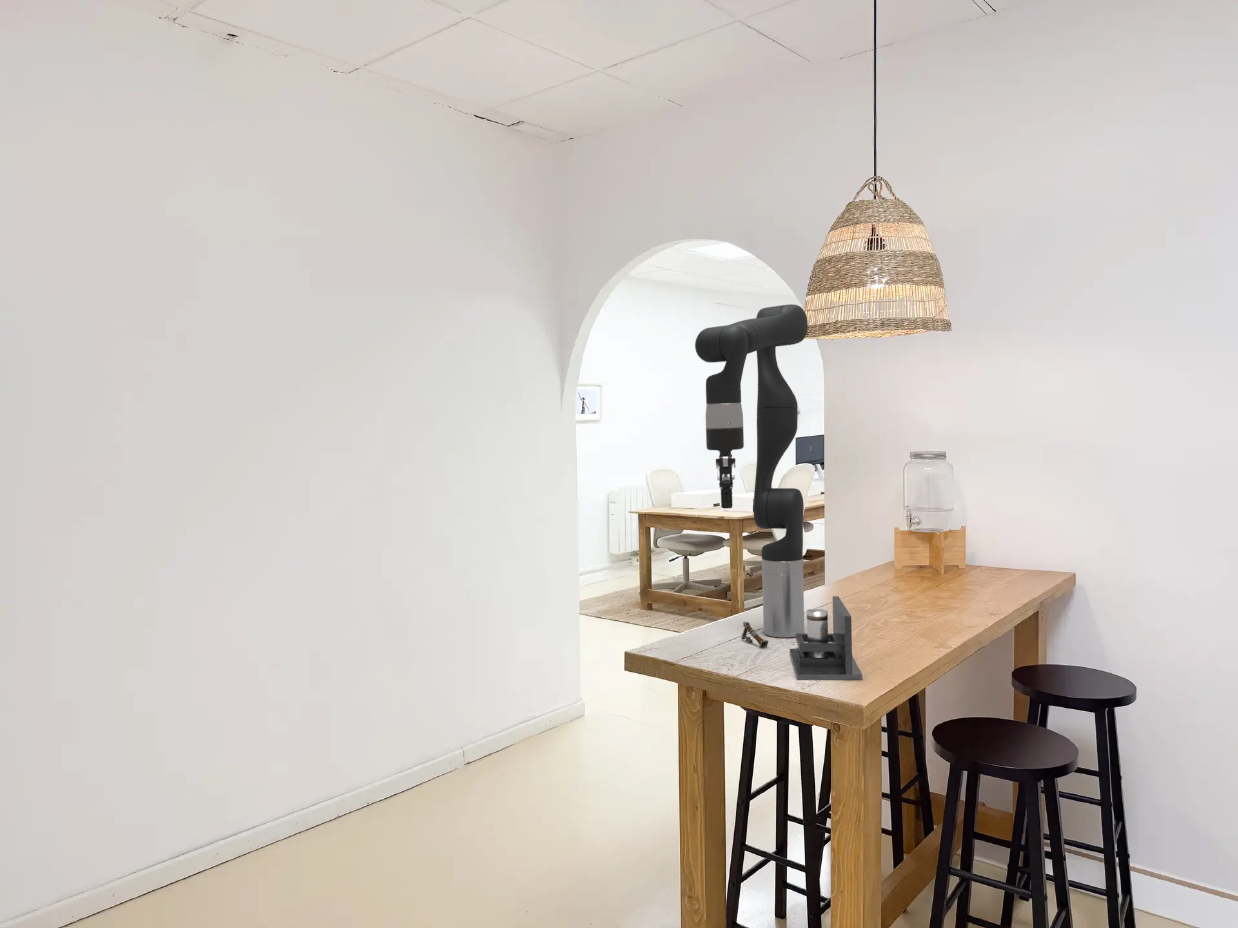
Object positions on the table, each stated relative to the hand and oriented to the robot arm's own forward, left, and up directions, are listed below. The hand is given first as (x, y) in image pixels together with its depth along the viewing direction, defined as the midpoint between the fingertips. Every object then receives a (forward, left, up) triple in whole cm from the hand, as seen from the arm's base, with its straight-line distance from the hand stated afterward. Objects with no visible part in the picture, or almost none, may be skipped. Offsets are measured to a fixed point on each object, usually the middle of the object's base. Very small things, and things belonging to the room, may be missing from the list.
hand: (727, 505), depth 174 cm
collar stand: (+4, +18, -32) cm, 37 cm away
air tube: (+4, +17, -31) cm, 35 cm away
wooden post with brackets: (-12, +5, -32) cm, 35 cm away
